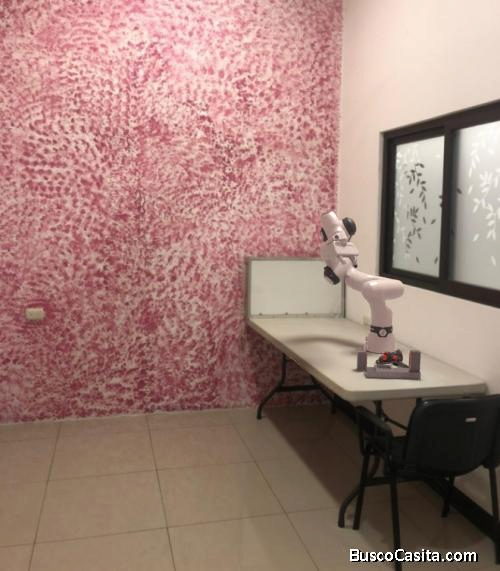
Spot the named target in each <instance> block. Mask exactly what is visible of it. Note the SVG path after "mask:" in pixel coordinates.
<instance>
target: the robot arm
mask: <svg viewBox="0 0 500 571" xmlns="http://www.w3.org/2000/svg"><path fill="white" fill-rule="evenodd" d="M319 220H320V222H321V229H320V231H319V235H320V237H321V239H322V241H323V242H322V243H321V245H320V248H319V249H320V250H319V255H320V258H321V260H322V261H323V263H324V264H325V266H324V267H323V277H324V279H325V281H327V283H328V284H330V285H332V286H336V285H338V284H340V282H342V280H344V282H345V283H344V284H346V286H348V287H350V289H352V290H354V291H357V292H359V293H361V296H362V297H363V298H364V300H366V301H367V303H368V305H369V307H370V314H371V315H370V316H371V318H370V319H371V321H370V322H371V323H370V326H369V333H368V335H367V336H365V337H364V338H365V340H364V341H365V343H364V345H363V348H362V350H366V352H370V353H374V354H384V352H386V351H389V352H392V353H396V351H397V350H399V349H398V348H397V347H396V336H395V335H394V334H393V331H394V326H393V311H392V309H390V308H389V307H388V306H387V304H386V300H387V301H389V300H396V299H399V298H401V297H402V296H403V294H404V293H405V287H404V286H405V285H404V284H403V282H402V281H401V280H398V279H392V278H389V277H388V278H387V277H384V276H379V275H373V274H369V273H366V272H363V271H359V270H358V269H357V268H358V259H357V257H358V256H360V252H359V250H358V249H357V247H356V245H355V243H353V242H351V240H352V237H353V236H355V234H356V232H357V225H356V222H355V220H354V219H353V218H351V217H348V216H347V217H344V218H342V219H339V218H338V216H337V215H336V213H335V212H334V211H327V212H325V213H323V214H322V215H320V216H319Z"/></svg>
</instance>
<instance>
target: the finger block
mask: <svg viewBox="0 0 500 571" xmlns="http://www.w3.org/2000/svg"><path fill="white" fill-rule="evenodd" d="M367 352H368V351H366V350H363V349H362V350H360V349H359V350H357V351H356V353H357V354H356V371H358V372H360V371H361V372H365V367H368V353H367Z"/></svg>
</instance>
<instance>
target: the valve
mask: <svg viewBox="0 0 500 571" xmlns="http://www.w3.org/2000/svg"><path fill="white" fill-rule="evenodd" d="M403 361H404V355H403V353H402V350H400V349H398V350H397V351H396V352H389V351H386V352H384V353H382V354H381V355H380V356H379V357H378V359H376V360H375V364H376V365H392V364H394V365H398V366H399V367H400V368H409V365H407V364H406V363H404V362H403ZM383 362H384V363H383Z"/></svg>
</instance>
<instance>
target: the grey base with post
mask: <svg viewBox="0 0 500 571" xmlns="http://www.w3.org/2000/svg"><path fill="white" fill-rule="evenodd" d="M421 355H422V352H421V351H420V350H416V349H410V350H409V354H408V366H409V368H402V367H393V365H392V364H386V365H380V364H373V366H367V367H365V371H364V374H365V376H366V378H367V379H368V378H370V379H398V380H401V379H402V380H421V377H422V374H421V357H422V356H421Z"/></svg>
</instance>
